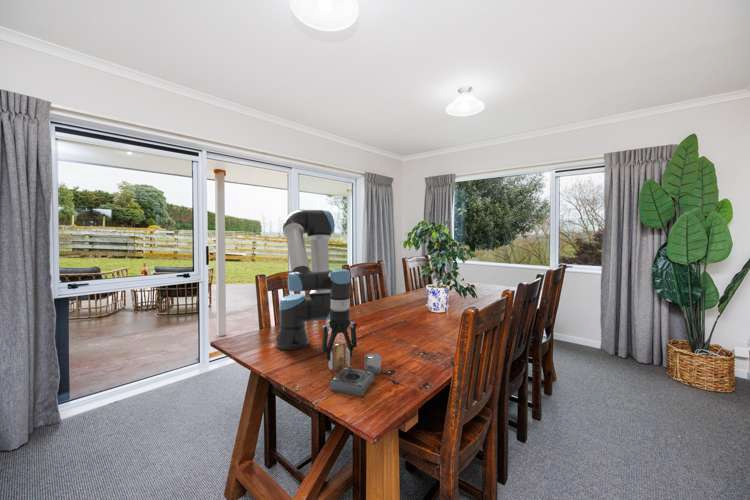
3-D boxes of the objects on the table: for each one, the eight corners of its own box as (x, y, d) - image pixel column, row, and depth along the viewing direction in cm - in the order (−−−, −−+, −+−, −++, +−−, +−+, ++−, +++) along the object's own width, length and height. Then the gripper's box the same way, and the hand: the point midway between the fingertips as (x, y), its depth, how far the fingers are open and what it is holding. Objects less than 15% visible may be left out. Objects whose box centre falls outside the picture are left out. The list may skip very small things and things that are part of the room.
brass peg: (332, 370, 126) (332, 345, 125) (336, 366, 129) (337, 341, 129) (341, 371, 124) (341, 346, 124) (345, 367, 128) (346, 343, 127)
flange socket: (329, 389, 110) (329, 379, 110) (344, 374, 122) (344, 365, 122) (362, 396, 107) (362, 386, 106) (373, 380, 118) (374, 370, 118)
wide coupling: (362, 373, 123) (362, 358, 123) (367, 366, 130) (368, 352, 129) (377, 376, 121) (378, 360, 121) (382, 369, 127) (383, 354, 127)
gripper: (318, 313, 118) (317, 375, 119) (366, 309, 126) (365, 366, 128) (312, 309, 124) (312, 366, 126) (359, 304, 133) (358, 358, 134)
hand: (339, 366), depth 127 cm, fingers open, 6 cm apart
